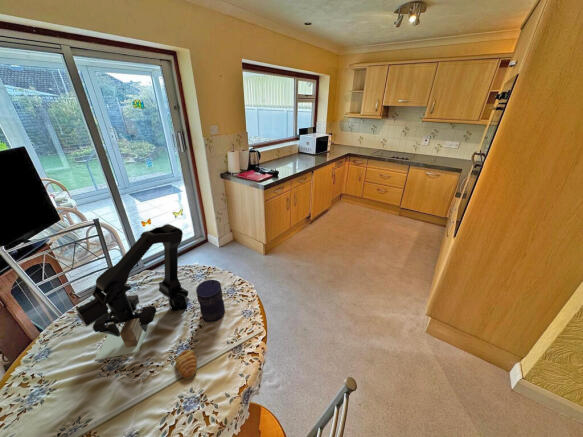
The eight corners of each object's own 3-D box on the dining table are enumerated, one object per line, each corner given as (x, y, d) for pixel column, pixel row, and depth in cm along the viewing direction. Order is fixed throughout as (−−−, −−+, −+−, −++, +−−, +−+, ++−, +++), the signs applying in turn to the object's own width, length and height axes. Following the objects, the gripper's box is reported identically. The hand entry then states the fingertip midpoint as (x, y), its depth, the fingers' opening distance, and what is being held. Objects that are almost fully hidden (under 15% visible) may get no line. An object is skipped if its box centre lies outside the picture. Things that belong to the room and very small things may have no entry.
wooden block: (143, 329, 94) (137, 315, 90) (137, 345, 88) (131, 331, 84) (133, 331, 93) (127, 317, 89) (126, 347, 87) (119, 333, 83)
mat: (148, 324, 96) (148, 323, 96) (138, 351, 86) (138, 351, 86) (110, 331, 93) (109, 330, 93) (95, 360, 83) (94, 359, 83)
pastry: (202, 372, 80) (200, 366, 78) (181, 385, 76) (178, 378, 75) (194, 351, 87) (192, 344, 85) (175, 361, 83) (172, 355, 81)
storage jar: (216, 325, 96) (211, 299, 89) (196, 319, 99) (190, 293, 92) (229, 307, 105) (225, 282, 98) (211, 301, 107) (206, 277, 100)
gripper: (154, 284, 91) (164, 312, 98) (100, 292, 87) (114, 320, 94) (146, 306, 81) (157, 335, 88) (84, 316, 77) (101, 345, 84)
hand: (132, 333), depth 89 cm, fingers open, 9 cm apart
